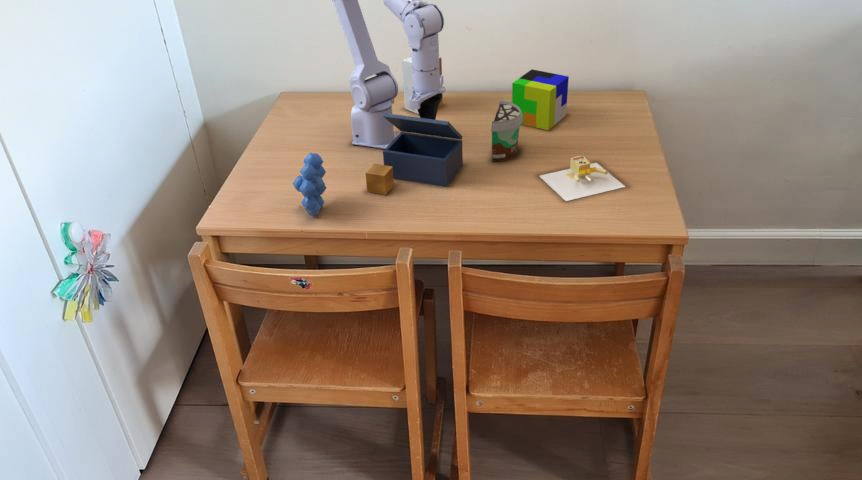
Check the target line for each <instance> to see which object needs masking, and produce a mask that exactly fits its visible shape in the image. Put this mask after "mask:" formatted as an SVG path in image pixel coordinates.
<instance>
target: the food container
mask: <svg viewBox="0 0 862 480" xmlns="http://www.w3.org/2000/svg"><path fill="white" fill-rule="evenodd" d="M522 122H523V116H522V112H521V110H520V108H519V107H518V106H517V105H515V104H513V103H512V102H510V101H505V100H499V101H498V107H497V110H496V112H495V116H494V120H493V121H491V128H490V129H491V130H490V131H491V162H501V161H502V162H504V161H507V160H510V159H513V158H514V157H515V156H516V155H517V153H518V143H519V134H520V126H521V125H522V124H521V123H522Z"/></svg>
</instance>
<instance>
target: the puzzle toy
mask: <svg viewBox="0 0 862 480" xmlns="http://www.w3.org/2000/svg"><path fill="white" fill-rule="evenodd" d="M511 84H512V86H511V87H512V88H511V103H513V104H515V105H517V106H518V107H519V108H520V110H521V112H522V116H523V122H522V123H521V125H524V126H526V127H527V126H528V127H532V128H536V129H541V130H545V131H550V129H552V128H553V127H554V126H556V124H558V123H559V122H560V121H562V119H563V118H564V117H566V116H567V107H568V93H569V76H568V75H563V74H558V73H555V72H554V73H553V72H548V71H543V70H538V69H530V70H528V71H526V73H524V74H523V75H521V76H520V77H519V78H518V79H516V80H514V81H513V82H512V83H511Z"/></svg>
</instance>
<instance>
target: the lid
mask: <svg viewBox="0 0 862 480" xmlns="http://www.w3.org/2000/svg"><path fill="white" fill-rule="evenodd" d="M383 117H384V118H386V119H387V120H388V121H389V122H390V123H392V124H393V126H394V127H395V128H396V129H397V130H398V131H400V132H407V133H415V134H422V135H429V136H436V137H443V138H451V139H458V140H462V141H463V135H462V134H461V133H460V132H459V131H458V130H457V129H456V128H455V126H453V124H451V123H450V121H447V120H440V119H436V120H433V119H426V118H420V117H417V116H409V115H403V114H394V113H392V114H388V113H384V115H383Z"/></svg>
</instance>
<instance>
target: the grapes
mask: <svg viewBox="0 0 862 480" xmlns="http://www.w3.org/2000/svg"><path fill="white" fill-rule="evenodd" d="M303 164H304V165H303V167H302V168H301V170H300V171H299V173H300V174H299V175H298V176H296V177H295V179H294V180H293V181H292V183H291V184H292V185H293V187H294V189H295V190H296V191H297V192H299V193H301V194H302V196H303V199H302V200H301V205H302V207H303V209H305V210H306V212H307V214H308V215H309V216H311V217H315V216H316V215H318V213H319V212H320V211H321V209H322V207H323V205H324V204H325V200H324V198H323V197H322V195H323V194H324V193H325V191H326V190H327V186H326V182H324V179H323V177H324V176H325V175H326V173H327V171H326V169H325V168H324V167H323V164H324V160H323V158H322V157H321V156H320V155H319V153H315V152H314V153H313V152H310V153H308V154H307V155H306V156H305V158H304V159H303Z"/></svg>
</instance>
